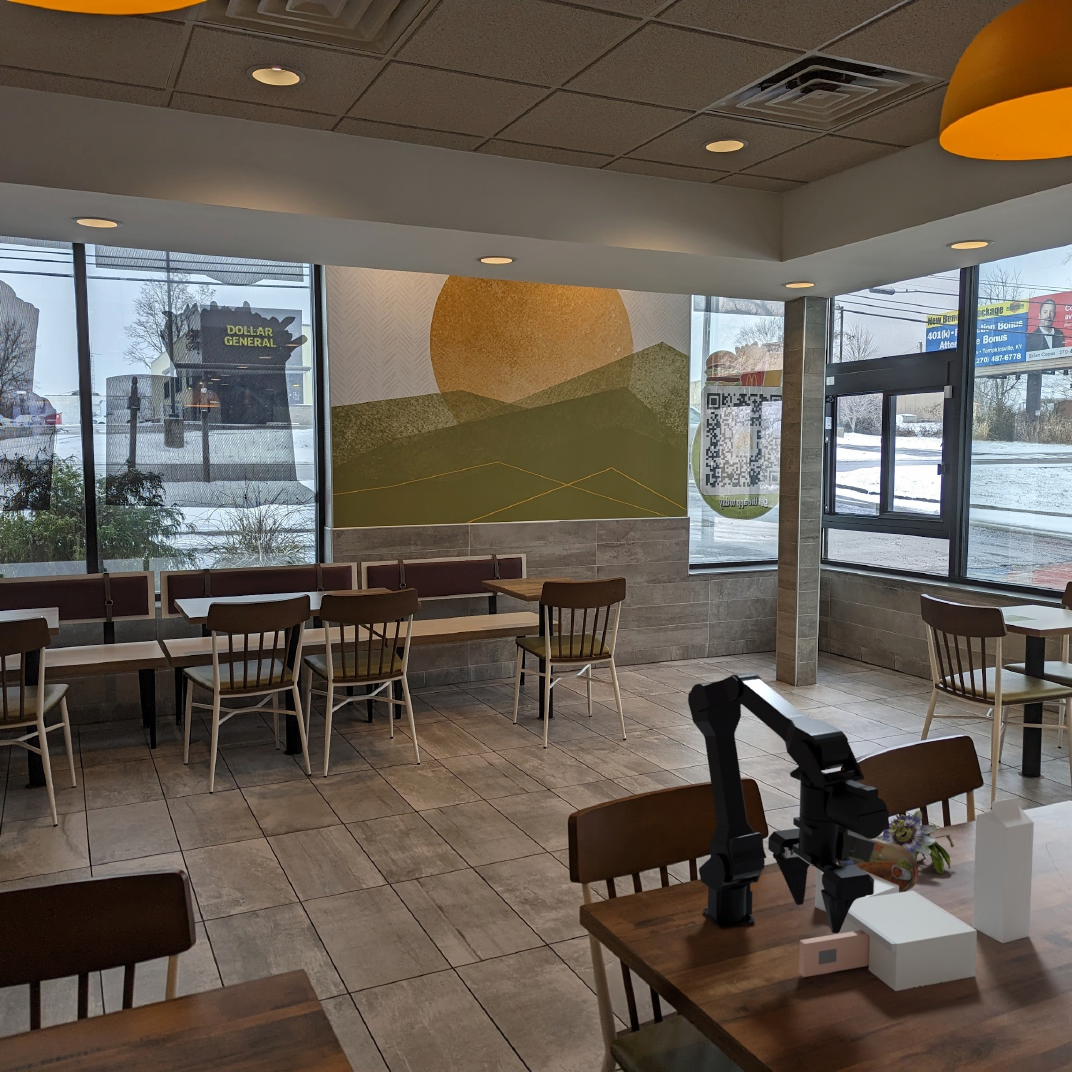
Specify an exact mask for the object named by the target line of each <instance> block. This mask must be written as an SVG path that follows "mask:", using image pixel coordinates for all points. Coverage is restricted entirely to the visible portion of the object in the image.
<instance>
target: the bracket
mask: <svg viewBox="0 0 1072 1072" xmlns="http://www.w3.org/2000/svg"><path fill="white" fill-rule="evenodd" d="M865 872H866V871H865ZM866 873H868V872H866ZM823 874H824V873H823V872H822V871H821V870H819V869H818V868H816V867H815V893H814V894H815V895H814V907H815V908H817V909H819V910H821V911H823V912H825V913H826V909H825V905H824V901H823V897H822V893H821V890H823V889H824V887H823V884H822V875H823ZM868 874H869V875H870V876H871V877H872V878H873V879H874V894H873V895H867V896H865V897H862V898H867V897H874V896H880V895H887V894H893V893H899V885H896V884H894V883H892V882H889V881H887V880H885V879H882V878H880V877H878V876H875V875H873V874H870V873H868ZM857 899H860V898H857Z"/></svg>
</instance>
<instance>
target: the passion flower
mask: <svg viewBox="0 0 1072 1072" xmlns="http://www.w3.org/2000/svg"><path fill="white" fill-rule="evenodd" d="M895 817H896V818H893V819H892V820H890V822H888V823H887V825H889V828H888V829H885V830H884V831H883V832H882V835H881V834H880V835H879V836H878V837H876V838H877V839H880V840H884V841H887V842H890V843H894V844H897V845H900V846H902V847H904V848H906V849H907V850H908V851H909V852H910V853H911V854H912V855H913V857H914V858H915V860H916V862H917V860H918V855H920V854H921V856H922V857H923V859H925V858H926V856H930V859H931V861H932V864H933V866H934V868H935V871H936V873H938V874H940V875H943V874H944V870H945V867H944V866H945V862H946V864H947V866H948V869H949V870H950V869H951V862H952V860H951V857H950V854H949V852H948V851H947V850H946V849H945V848H944V847H943V846H942V845H940V844H939V843H938V841H937V840H936V839H939V838H945V837H946V838H947V840H948V841H949V844H950V847H951V848H954V847H955V844H954V841H953V839H952V838H951V835H950V834H945V835H939V836H935V837H933V836H932V835H931V834H933V833H935V832H937V830H938V825H937V824H923V823H922V819H923V813H922V811H921V810H917V811H915V812H914V814H912V815H911V814H908V815H907V814H905V815H904V814H901V815H900V816H899V815H898V814H896V815H895ZM944 861H945V862H944Z"/></svg>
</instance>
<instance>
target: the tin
mask: <svg viewBox="0 0 1072 1072" xmlns="http://www.w3.org/2000/svg"><path fill="white" fill-rule="evenodd" d="M871 840H873V841H874V842H876V844H875V847H874V850H873V853H872V856H871V859H870V862H869V863H867V862H864V861H863V860H861V859H857V858H854V857H850V856H849V861H841V860H839V861H837V864H838V865H839V866H848V865H856V866H857V867H859V868H860V869H862V870H863V871H866V872H868V873H870V874H873V875H875V876H878V877H880V878H882V879H885V880H887V881H889V882H892V883H894V884H896V885H899V893H900V892H907V891H911V889H912V888H914V887H915V886H916V884H917V882H918V878H919V867H918V862H917V861H916V860H915V858H914V857H913V855H912V854H911V853H910V852H909V851H908V850H907V849H906V848H904V847H902V846H900V845H897V844H894V843H890V842H887V841H884V840H880V839H877V837H876V838H874V839H871Z"/></svg>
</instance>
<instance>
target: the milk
mask: <svg viewBox="0 0 1072 1072" xmlns="http://www.w3.org/2000/svg"><path fill="white" fill-rule="evenodd" d="M975 822H976V823H975V845H974V846H975V847H974V850H975V851H974V877H973V878H974V879H973V897H972V898H973V900H972V904H973V905H972V926H971V927H972V928H974V929H975V930H977V931H979V932H980V933H982V934H984V935H986V936H988V937H990V938H991V939H994V940H995V941H998V942H999V943H1001V944H1006V943H1010V942H1014V941H1017V940H1021V939H1024V938H1028V937H1030V925H1031V921H1030V919H1031V900H1032V899H1031V897H1032V876H1033V875H1032V873H1033V872H1032V871H1033V854H1034V853H1033V847H1034V828H1035V827H1034V824H1035V823H1034V821H1033V820H1032V819H1031V818H1030V817H1029V815H1028V814H1027V813H1026V812H1025V811H1024V810H1023V809H1022V808H1021V807H1020V798H1019V797H1018V796H1016V797H1010V798H1006V799H1000V800H995V801H992V803H991V810H990V811H987V812H982V813H980V814H977V815H976V821H975Z"/></svg>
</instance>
